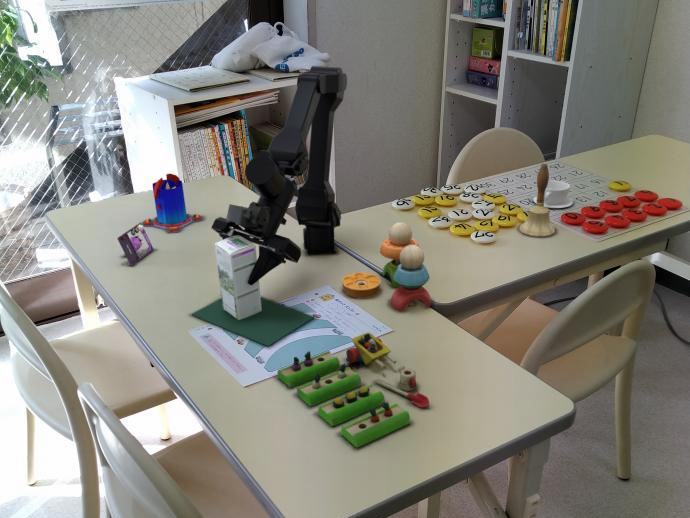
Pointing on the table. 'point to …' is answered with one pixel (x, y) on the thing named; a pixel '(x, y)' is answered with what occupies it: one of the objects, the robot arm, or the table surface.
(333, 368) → the toy garden set
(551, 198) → the teacup
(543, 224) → the hand bell
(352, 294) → the wooden stacking toy
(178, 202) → the fantasy tower
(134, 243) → the game card
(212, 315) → the green mat
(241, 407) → the table surface
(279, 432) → the table surface
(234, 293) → the syrup box
